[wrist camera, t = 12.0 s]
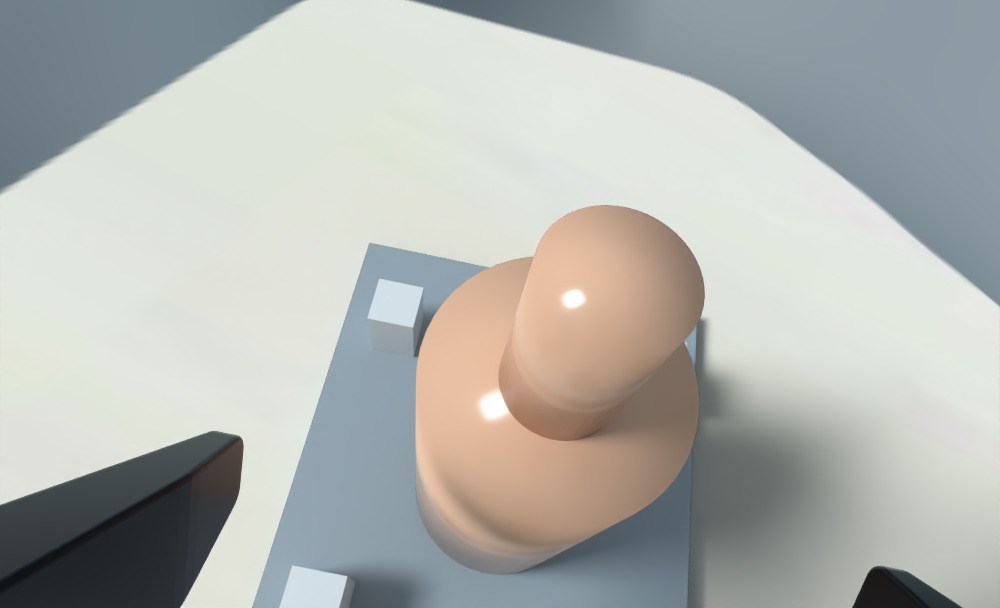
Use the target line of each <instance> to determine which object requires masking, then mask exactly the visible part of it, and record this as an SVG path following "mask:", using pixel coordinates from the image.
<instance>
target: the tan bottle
mask: <svg viewBox="0 0 1000 608" xmlns="http://www.w3.org/2000/svg"><path fill="white" fill-rule="evenodd" d="M704 298H705V291H704V282H703V277H702V273H701V270H700V267H699V265H698V263H697V261H696V258H695V257H694V255H693V253H692V252H691V250H690V249H689V247H688V246H687V245H686V244H685V242H684V241H683V240H682V239H681V238H680V237H679V236H678V235H677V234H676V233H675V232H674V231H673V230H672V229H670V228H669V227H668V226H667V225H665V224H664V223H662V222H661V221H659V220H657V219H655V218H654V217H652V216H650V215H648V214H645V213H643V212H640V211H638V210H634V209H630V208H626V207H621V206H611V205H600V206H591V207H586V208H582V209H579V210H576V211H573V212H571V213H569V214H567V215H565V216H564V217H562V218H560V219H559V220H558V221H556V222H555V223H554V224H553V225H552V226H551V227H550V228H549V229H548V230H547V231H546V232H545V234H544V235H543V237H542V238H541V240H540V242H539V244H538V247H537V249H536V252H535V255H534V257H526V258H520V259H514V260H510V261H507V262H504V263H501V264H497V265H495V266H493V267H491V268H488V269H486V270H484V271H482V272H480V273H478V274H477V275H475V276H474V277H472V278H470V279H469V280H467V281H466V282H465V283H463V284H462V285H461V286H460V287H459V288H457V289H456V290H455V291H454V292H453V293H452V294H451V295H450V296H449V297H448V298H447V299H446V300H445V302H444V303H443V304H442V305H441V307H440V308H439V310H438V311H437V313H436V314H435V315H434V317H433V319H432V321H431V323H430V325H429V327H428V329H427V330H426V333H425V336H424V339H423V341H422V344H421V347H420V352H419V357H418V362H417V372H416V448H415V491H416V502H417V506H418V511H419V514H420V517H421V520H422V522H423V524H424V526H425V528H426V530H427V532H428V534H429V535H430V537H431V538H432V540H433V541H434V542H435V543H436V545H437V546H438V547H439V548H440V549H441V550H442V551H443V552H444V553H445V554H447V555H448V556H449V557H450V558H451V559H453V560H455V561H456V562H458V563H459V564H461V565H463V566H465V567H467V568H470V569H472V570H475V571H479V572H482V573H489V574H512V573H518V572H521V571H525V570H528V569H530V568H532V567H535V566H537V565H539V564H541V563H543V562H545V561H546V560H548V559H550V558H552V557H554V556H556V555H558V554H560V553H562V552H563V551H565V550H567V549H569V548H571V547H573V546H575V545H577V544H579V543H581V542H582V541H584V540H586V539H588V538H590V537H592V536H594V535H596V534H598V533H599V532H601V531H603V530H605V529H607V528H609V527H611V526H613V525H615V524H616V523H618V522H620V521H622V520H624V519H626V518H628V517H630V516H632V515H633V514H635V513H637V512H638V511H640V510H642V509H643V508H645V507H646V506H648V505H649V504H651V503H652V502H653V501H654V500H655V499H657V498H658V497H659V496H660V495H661V494H662V493H663V492H664V491H665V490H666V489H667V488H668V487H669V486H670V484H671V483H672V482H673V481H674V480H675V478H676V477H677V476H678V474H679V472H680V471H681V469H682V467H683V466H684V464H685V463H686V461H687V458H688V456H689V453H690V451H691V449H692V446H693V443H694V439H695V436H696V432H697V428H698V419H699V389H698V382H697V376H696V372H695V369H694V365H693V362H692V358H691V356H690V354H689V351H688V349H687V347H686V344H685V342H684V340H685V339H686V338H687V337H688V336H689V335H690V334H691V333H692V331H693V330H694V328H695V327H696V325H697V323H698V321H699V319H700V317H701V314H702V310H703V307H704Z"/></svg>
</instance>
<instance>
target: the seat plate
mask: <svg viewBox="0 0 1000 608" xmlns="http://www.w3.org/2000/svg"><path fill="white" fill-rule="evenodd" d="M488 268H489V267H484V266H479V265H474V264H470V263H465V262H460V261H455V260H450V259H446V258H441V257H436V256H431V255H426V254H422V253H417V252H412V251H407V250H402V249H398V248H393V247H388V246H383V245H378V244H374V243H369V246H368V249H367V252H366V255H365V258H364V261H363V265H362V268H361V271H360V274H359V277H358V280H357V283H356V286H355V289H354V293H353V296H352V299H351V302H350V305H349V308H348V311H347V314H346V317H345V321H344V324H343V327H342V330H341V333H340V336H339V339H338V342H337V345H336V349H335V352H334V355H333V358H332V361H331V364H330V367H329V370H328V373H327V377H326V380H325V383H324V386H323V389H322V392H321V395H320V398H319V401H318V405H317V408H316V411H315V414H314V417H313V420H312V423H311V426H310V429H309V433H308V436H307V439H306V442H305V445H304V448H303V451H302V454H301V457H300V461H299V464H298V467H297V470H296V473H295V476H294V479H293V482H292V485H291V489H290V492H289V495H288V498H287V501H286V504H285V507H284V510H283V513H282V517H281V520H280V523H279V526H278V529H277V532H276V535H275V538H274V541H273V545H272V548H271V551H270V554H269V557H268V560H267V563H266V566H265V569H264V573H263V576H262V579H261V582H260V585H259V588H258V591H257V594H256V597H255V601H254V604H253V607H252V608H687V600H688V570H689V540H690V510H691V480H692V450H693V446H692V449H691V451H690V453H689V456H688V458H687V461H686V463H685V464H684V466H683V467H682V469H681V471H680V472H679V474H678V476H677V477H676V478H675V480H674V481H673V482H672V483H671V484H670V486H669V487H668V488H667V489H666V490H665V491H664V492H663V493H662V494H661V495H660V496H659V497H658V498H657V499H655V500H654V501H653V502H652V503H651V504H649V505H648V506H646V507H645V508H643V509H642V510H640V511H638V512H637V513H635V514H633V515H632V516H630V517H628V518H626V519H624V520H622V521H620V522H618V523H616V524H615V525H613V526H611V527H609V528H607V529H605V530H603V531H601V532H599V533H598V534H596V535H594V536H592V537H590V538H588V539H586V540H584V541H582V542H581V543H579V544H577V545H575V546H573V547H571V548H569V549H567V550H565V551H563V552H562V553H560V554H558V555H556V556H554V557H552V558H550V559H548V560H546V561H545V562H543V563H541V564H539V565H537V566H535V567H532V568H530V569H528V570H525V571H521V572H518V573H512V574H489V573H482V572H479V571H475V570H472V569H470V568H467V567H465V566H463V565H461V564H459V563H458V562H456V561H455V560H453V559H451V558H450V557H449V556H448V555H447V554H445V553H444V552H443V551H442V550H441V549H440V548H439V547H438V546H437V545H436V543H435V542H434V541H433V540H432V538H431V537H430V535H429V534H428V532H427V530H426V528H425V526H424V524H423V522H422V520H421V517H420V514H419V511H418V506H417V502H416V491H415V448H416V372H417V362H418V357H419V352H420V347H421V344H422V341H423V339H424V336H425V333H426V330H427V329H428V327H429V325H430V323H431V321H432V319H433V317H434V315H435V314H436V313H437V311H438V310H439V308H440V307H441V305H442V304H443V303H444V302H445V300H446V299H447V298H448V297H449V296H450V295H451V294H452V293H453V292H454V291H455V290H456V289H457V288H459V287H460V286H461V285H462V284H463V283H465V282H466V281H467V280H469V279H470V278H472V277H474V276H475V275H477V274H478V273H480V272H482V271H484V270H486V269H488ZM696 330H697V325H696V327H695V328H694V330H693V331H692V333H691V334H690V335H689V336H688V337H687V338H686V339H685V340H684V342H685V344H686V347H687V349H688V351H689V354H690V356H691V358H692V362H693V365H694V369H695V360H696Z"/></svg>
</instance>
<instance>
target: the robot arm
mask: <svg viewBox="0 0 1000 608" xmlns="http://www.w3.org/2000/svg"><path fill="white" fill-rule="evenodd" d="M243 448H244V445H243V440H242V438H241V437H240V436H237V435H233V434H228V433H223V432H218V431H211V432H207V433H205V434H202V435H199V436H196V437H193V438H190V439H187V440H185V441H182V442H179V443H176V444H173V445H170V446H167V447H165V448H162V449H159V450H156V451H153V452H150V453H147V454H145V455H142V456H139V457H136V458H133V459H130V460H127V461H125V462H122V463H119V464H116V465H113V466H110V467H107V468H105V469H102V470H99V471H96V472H93V473H90V474H87V475H84V476H82V477H79V478H76V479H73V480H70V481H67V482H64V483H62V484H59V485H56V486H53V487H50V488H47V489H44V490H42V491H39V492H36V493H33V494H30V495H27V496H24V497H22V498H19V499H16V500H13V501H10V502H7V503H4V504H2V505H0V608H180V607H181V605H182V604H183V602H184V601H185V599H186V597H187V595H188V593H189V591H190V590H191V588H192V586H193V584H194V582H195V580H196V578H197V576H198V574H199V573H200V571H201V569H202V567H203V565H204V563H205V561H206V559H207V557H208V555H209V553H210V551H211V549H212V548H213V546H214V544H215V542H216V540H217V538H218V536H219V534H220V532H221V530H222V528H223V526H224V524H225V523H226V521H227V519H228V517H229V515H230V513H231V511H232V509H233V507H234V505H235V503H236V500H237V497H238V494H239V490H240V481H241V470H242V459H243ZM852 608H962V607H961V606H959V605H958V604H956V603H955V602H953V601H952V600H950V599H949V598H947V597H945V596H944V595H942V594H941V593H939V592H938V591H936V590H935V589H933V588H932V587H930V586H929V585H927V584H926V583H924V582H923V581H921V580H919V579H918V578H916V577H915V576H913V575H912V574H910V573H908V572H906V571H903V570H899V569H894V568H889V567H884V566H876V567H874V568H872V569H871V570H870V571H869V573H868V574H867V577H866V579H865V581H864V583H863V585H862V588H861V590H860V592H859V594H858V596H857V598H856V601H855V603H854V605H853V607H852Z"/></svg>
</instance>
